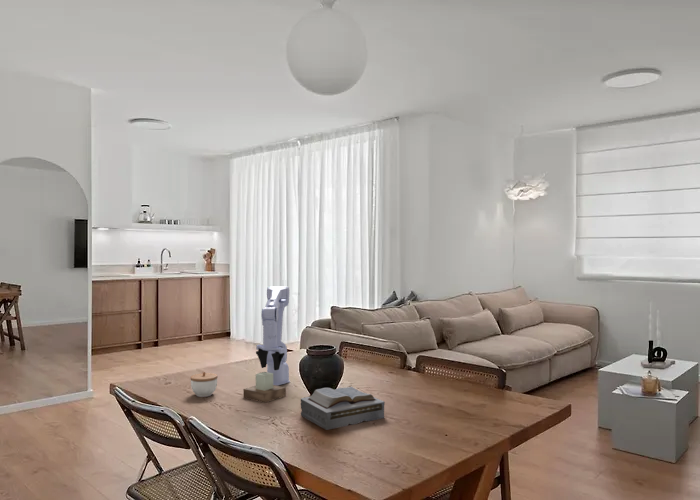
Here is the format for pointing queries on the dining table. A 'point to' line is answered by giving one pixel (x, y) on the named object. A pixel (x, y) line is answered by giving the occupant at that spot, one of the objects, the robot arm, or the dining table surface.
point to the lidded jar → (204, 384)
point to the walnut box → (264, 393)
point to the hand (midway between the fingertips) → (270, 368)
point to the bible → (341, 407)
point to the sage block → (264, 381)
